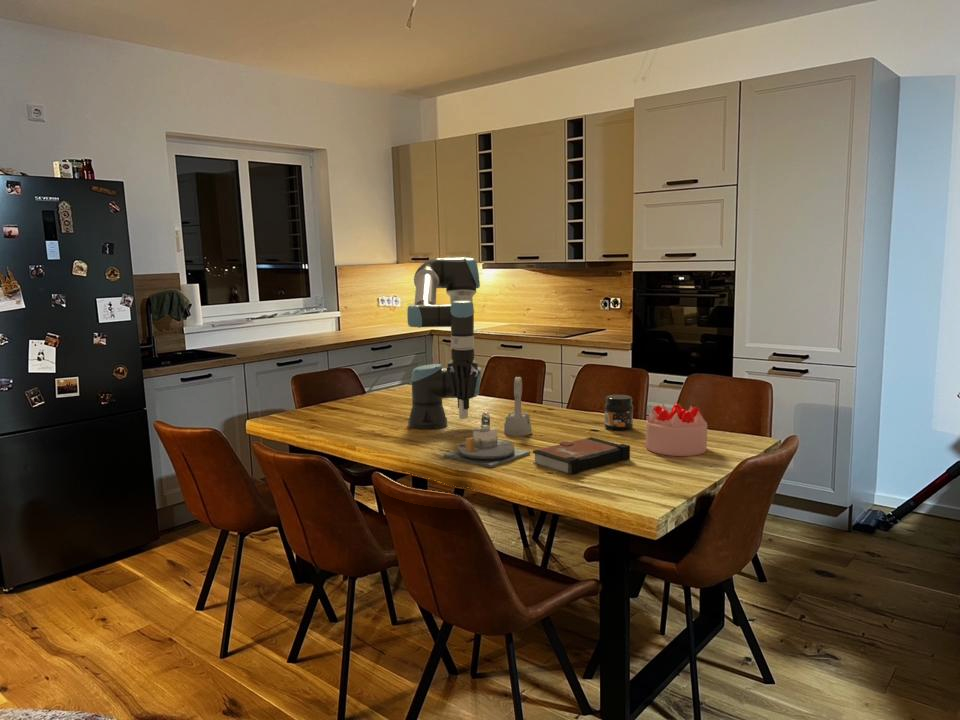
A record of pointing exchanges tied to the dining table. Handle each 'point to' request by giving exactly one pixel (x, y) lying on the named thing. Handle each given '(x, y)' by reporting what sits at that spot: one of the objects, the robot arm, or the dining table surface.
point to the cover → (485, 437)
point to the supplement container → (618, 413)
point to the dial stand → (485, 419)
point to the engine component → (517, 415)
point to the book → (581, 455)
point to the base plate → (487, 462)
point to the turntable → (486, 450)
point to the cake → (676, 431)
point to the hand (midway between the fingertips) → (463, 418)
